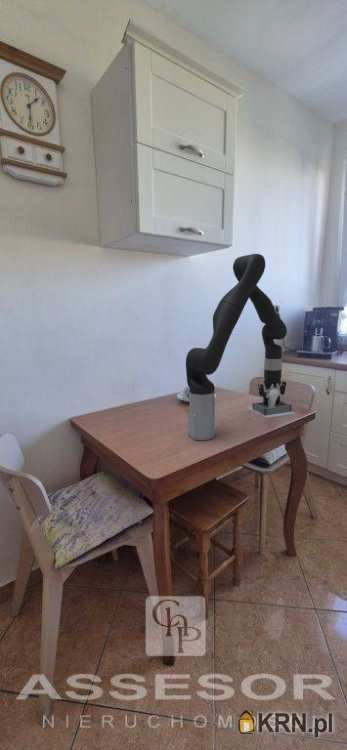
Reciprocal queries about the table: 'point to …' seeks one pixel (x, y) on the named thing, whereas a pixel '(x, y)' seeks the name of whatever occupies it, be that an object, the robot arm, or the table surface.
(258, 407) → the grey flat square tray
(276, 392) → the lightbulb
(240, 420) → the table surface
